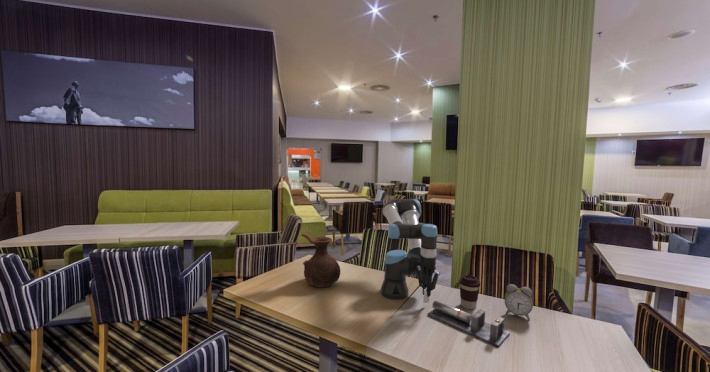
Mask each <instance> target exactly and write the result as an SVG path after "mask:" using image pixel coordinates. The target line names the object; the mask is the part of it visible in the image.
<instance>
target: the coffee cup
mask: <svg viewBox="0 0 710 372" xmlns="http://www.w3.org/2000/svg"><path fill="white" fill-rule="evenodd" d="M458 281H459V284H460V285H459V286H460V287H459V293H460V294H459V295H460V305H461V307H462V308H465V309H467V310H475V309H476V307H477V302H478V299H479V291H480V289H479V288H480V287H481V280H479V279H478V278H477V277H476V276H474V275H471V274H466V275H465V274H464V275H463V276H461V277H460V278H459V280H458Z"/></svg>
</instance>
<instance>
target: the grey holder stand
mask: <svg viewBox="0 0 710 372" xmlns="http://www.w3.org/2000/svg"><path fill="white" fill-rule="evenodd" d="M471 315H472V316H471V324H469V323H466V322H464V321H462V320H459V319H457V318H455V317H452V316H450V315H448V314H445V313H443V312H441V311H438V310H436V309H434V308H433V309H432V310H430V311H429V312H428V313H427V316H428V317H430V318H432V319H434V320H437V321H439V322H441V323H443V324H445V325H447V324H448V326H449V327H451V328H455V329H456V330H459V331H461V332H463V333H465V334H467V335H469V336H471V337H474V338H475V339H479V340H480V341H482V342H485V343H487V344H490V345H491V346H493V347H496V348H499V347H500V346H501V345H502V344H503V343H504V342H505V341H506V339H507V338H508V337H509V336H510V334H511V332H510V331H508V330H506V329H505V317H502V316H497V317H496V318H494V320H493V321H492V322H491V323H488V322H486V321H485V320H486V319H485V318H486V311H485V310H483V309H481V308H480V309H478V310H476V311H475V312H474V313H473V314H471Z"/></svg>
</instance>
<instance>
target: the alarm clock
mask: <svg viewBox="0 0 710 372" xmlns="http://www.w3.org/2000/svg"><path fill="white" fill-rule="evenodd" d="M532 295H533V291H532V289H531V288H530V287H529V286H521V287H520V288H519V287H518V286H517V285H515V284H512V283H509V284H508V285H507V286H506V292H505V294H504V305H505V308H506V309H507V310H506V311H505V315H509V314H510V313H511V314H513V315H516V316H520V317H521V316H525V318H526V319H527V320H528V321H530V316H529V314H530V313H531V312H532V311H533V310H534V309H533V308H534V302H533V298H532Z"/></svg>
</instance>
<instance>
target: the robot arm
mask: <svg viewBox="0 0 710 372" xmlns="http://www.w3.org/2000/svg"><path fill="white" fill-rule="evenodd" d="M382 214H383V216H384V217H385V218H386V219H387V222H388V226H387V227H388V228H387V234H388V238H389V239H394V240H398V239H399V240H400V239H401V240H407V243H408V248H409V250H408V251H406V250H403V249H394V250H390V251H387V252H386V254H385V256H384V277H383V278H384V279H383V282H382V284H381V287H380V294H381V296H383V297H384V298H387V299H390V300H403V299H406V298H407V297H408V296H409V293H410V291H409V287H408V285H407V278H406V277H407V276H411V277H413V276H417V280H418V284H419V287H421V288H422V295H423V301H422V302H423V303H425V304H428V303H429V302H430V297H431V295H432V291H433V290H435V289H436V286H437V282H438V279H439V277H440V275H441V272H439V271H438V270H437V266H436V264H437V263H436V262H437V257H436V256H437V247H438V246H437V245H438V244H437V243H438V242H437V241H438V227H437V225H435V224H432V223H423V222H419V218H420V217H421V216H422V205H421V203H420V201H419V200H418V199H415V198H409V199H408V198H393V199H389V200H388V201H386V202H385V203H384V205H383V207H382Z"/></svg>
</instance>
